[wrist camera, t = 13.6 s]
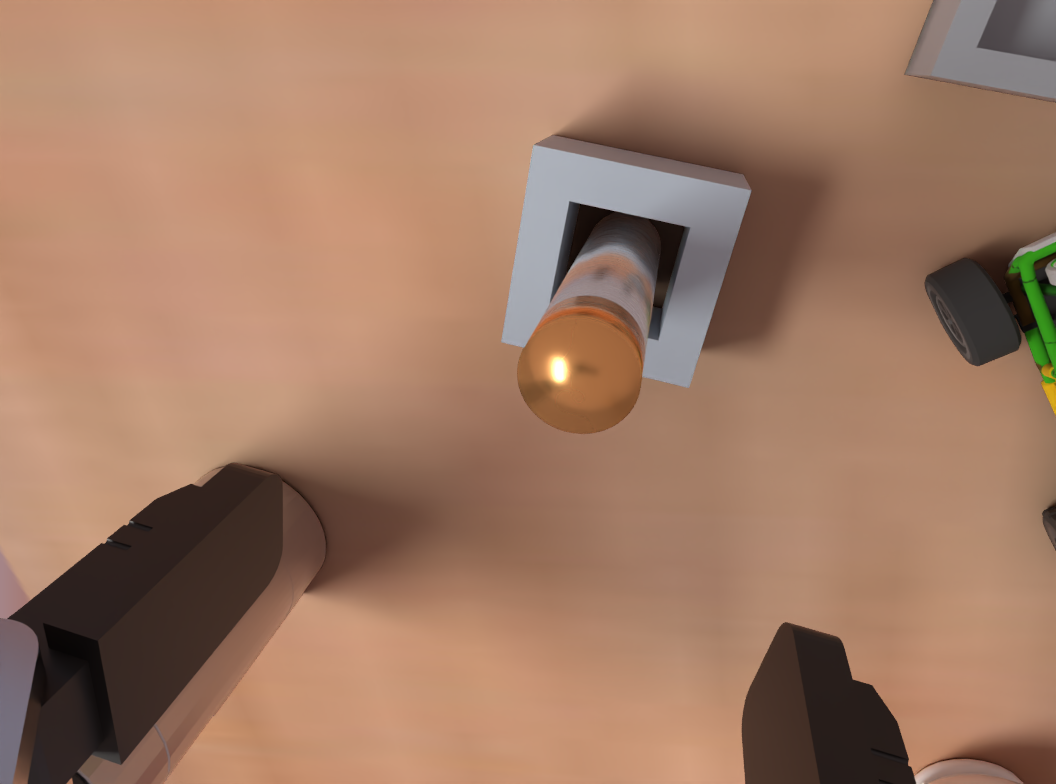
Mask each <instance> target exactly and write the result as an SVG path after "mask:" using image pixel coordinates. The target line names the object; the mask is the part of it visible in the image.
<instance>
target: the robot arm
mask: <svg viewBox="0 0 1056 784" xmlns="http://www.w3.org/2000/svg"><path fill="white" fill-rule="evenodd" d="M325 556H326V541H325V536H324V531H323V529H322V526H321V524H320V522H319V519H318V517H317V516H316V514H315V513H314V511H313V510H312V508H311V507H310V505H309V504H308V503H307V502H306V501H305V500H304V499H303V498H302V497H301V495H300V494H299V493H298V492H296V491H295V490H294V489H292V488H291V487H290V486H289V485H287V484H286V483H285V482H283V481H282V480H281V477H280V476H279V475H277V474H273V473H270V472H266V471H263V470H259V469H256V468H252V467H249V466H245V465H242V464H238V463H230V464H228V465H226V466H225V467H222V468H218V469H214V470H212V471H211V472H209V473H207V474H205V475H204V476H202V477H201V478H200V479H199V480H198V481H197V482H195V483H194V484H190V485H187V486H185V487H183V488H180V489H178V490H176V491H173V492H171V493H169V494H167V495H164V496H162V497H160V498H157V499H156V500H154V501H153V502H152V503H151V504H149V505H148V506H147V507H146V508H144V509H143V510H142V511H141V512H139V513H138V514H137V515H136V516H135V517H133V518H132V519H131V520H130V521H129V524H128V525H127V526H126V525H123V526H122V527H121V528H120V529H118V530H117V531H116V532H115V533H113V534H112V535H111V536H110V537H108V538H107V542H106V543H105V544H102V543H101V544H100V545H99V546H97V547H96V548H95V549H94V550H92V551H91V552H90V553H89V554H87V555H86V556H85V557H84V558H82V559H81V560H80V561H79V562H77V563H76V564H75V565H74V566H73V567H71V568H70V569H69V570H68V571H66V572H65V573H64V574H63V575H61V576H60V577H59V578H58V579H56V580H55V581H54V582H53V583H51V584H50V585H49V586H48V587H47V588H45V589H44V590H43V591H42V592H40V593H39V594H38V595H37V596H35V597H34V598H33V599H32V600H30V601H29V602H28V603H27V604H25V605H24V606H23V607H22V608H21V609H19V610H18V611H17V612H15V613H14V614H13V615H11V616H10V617H9V618H8V619H3V618H0V784H164V782H165V781H166V780H167V778H168V777H169V775H170V774H171V773H172V771H173V770H174V769H175V767H176V766H177V764H178V763H179V762H180V760H181V759H182V758H183V756H184V755H185V753H186V752H187V751H188V749H189V748H190V747H191V745H192V744H193V743H194V741H195V740H196V738H197V737H198V736H199V734H200V733H201V732H202V730H203V729H204V727H205V726H206V725H207V723H208V722H209V721H210V719H211V718H212V717H213V716H214V715H215V714H216V713H217V712H218V711H219V709H220V708H221V706H222V705H223V704H224V702H225V701H226V700H227V698H228V697H229V695H230V694H231V693H232V691H233V690H234V689H235V687H236V686H237V684H238V683H239V682H240V680H241V679H242V678H243V676H244V675H245V673H246V672H247V671H248V669H249V668H250V667H251V665H252V664H253V662H254V661H255V660H256V658H257V657H258V656H259V654H260V653H261V651H262V650H263V649H264V647H265V646H266V645H267V643H268V642H269V640H270V639H271V638H272V636H273V635H274V634H275V632H276V631H277V629H278V628H279V627H280V625H281V624H282V623H283V621H284V620H285V618H286V617H287V616H288V614H289V613H290V612H291V610H292V609H293V607H294V606H295V605H296V603H297V602H298V601H299V599H300V598H301V597H302V595H303V592H304V591H305V589H306V588H307V587H308V585H309V584H310V582H311V581H312V580H313V578H314V577H315V575H316V574H317V573H318V571H319V570H320V568H321V567H322V565H323V562H324V559H325ZM742 743H743V757H744V770H745V784H916V781H915V777H914V774H913V771H912V768H911V767H910V766H908V760H909V758H908V755H907V752H906V749H905V745H904V742H903V739H902V736H901V733H900V729H899V726H898V723H897V721H896V719H895V718H894V716H893V715H892V714H891V712H890V711H889V709H888V708H887V706H886V705H885V703H884V702H883V700H882V699H881V698H880V696H879V695H878V693H877V692H876V690H875V689H874V687H873V686H872V685H869V684H866V683H863V682H859V681H856V680H853V679H852V676H851V672H850V668H849V664H848V660H847V656H846V653H845V649H844V646H843V643H842V641H841V640H840V639H839V638H838V637H837V636H833V635H830V634H826V633H823V632H819V631H816V630H812V629H809V628H805V627H802V626H798V625H795V624H791V623H788V622H785V623H783V624H782V625H781V626H780V627H779V629H778V631H777V633H776V635H775V637H774V639H773V641H772V643H771V645H770V647H769V649H768V651H767V653H766V655H765V657H764V659H763V661H762V664H761V666H760V668H759V670H758V672H757V674H756V676H755V678H754V680H753V682H752V684H751V686H750V688H749V691H748V694H747V697H746V700H745V705H744V710H743V717H742Z"/></svg>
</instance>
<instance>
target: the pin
mask: <svg viewBox="0 0 1056 784" xmlns="http://www.w3.org/2000/svg"><path fill="white" fill-rule="evenodd" d="M660 253H661V241H660V237H659V234H658V232H657V230H656V228H655V227H654V225H653V224H652V223H651V222H650V221H649V220H648V219H647V218H645V217H640V216H636V215H631V214H626V213H622V212H616V213H612V214H610V215H608V216H606V217H604V218H603V219H602V220H600V221H599V222H598V223H597V225H596V226H595V227H594V229H593V230H592V232H591V234H590V235H589V237H588V239H587V241H586V242H585V244H584V246H583V248H582V249H581V251H580V253H579V254H578V256H577V258H576V260H575V261H574V263H573V265H572V266H571V268H570V270H569V272H568V273H567V275H566V277H565V278H564V280H563V282H562V284H561V285H560V287H559V289H558V290H557V292H556V294H555V296H554V297H553V299H552V301H551V303H550V304H549V306H548V308H547V309H546V311H545V313H544V315H543V316H542V318H541V320H540V321H539V323H538V325H537V327H536V328H535V330H534V332H533V333H532V335H531V337H530V339H529V340H528V342H527V344H526V345H525V347H524V349H523V351H522V353H521V356H520V358H519V362H518V369H517V377H518V384H519V388H520V391H521V394H522V396H523V398H524V400H525V402H526V403H527V405H528V406H529V408H530V409H531V410H532V411H533V412H534V413H535V414H536V415H537V416H538V417H539V418H540V419H541V420H543V421H544V422H546V423H547V424H549V425H551V426H553V427H555V428H557V429H560V430H563V431H566V432H571V433H579V434H588V433H595V432H600V431H603V430H606V429H608V428H611V427H613V426H614V425H616V424H618V423H619V422H620V421H622V420H623V419H624V418H625V417H626V416H627V415H628V414H629V413H630V411H631V410H632V409H633V407H634V405H635V403H636V401H637V399H638V396H639V393H640V388H641V381H642V374H643V368H644V361H645V354H646V347H647V341H648V334H649V327H650V320H651V314H652V307H653V300H654V294H655V287H656V280H657V273H658V267H659V260H660Z"/></svg>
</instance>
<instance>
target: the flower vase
mask: <svg viewBox="0 0 1056 784" xmlns="http://www.w3.org/2000/svg"><path fill="white" fill-rule="evenodd" d="M914 777H915V781H916V784H1024V783H1023V782H1022V781H1021V780H1020V779H1019V778H1018V777H1016V776H1015V775H1014V774H1013V773H1012V772H1011V771H1009V770H1007V769H1005V768H1003V767H1001V766H999V765H996V764H993V763H989V762H986V761H982V760H974V759H951V760H946V761H941V762H937V763H935V764H932V765H930V766H927V767H925V768H924V769H923V770H921V771H920V772H918V773H917V774H916V775H915V776H914Z"/></svg>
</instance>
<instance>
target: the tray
mask: <svg viewBox="0 0 1056 784" xmlns="http://www.w3.org/2000/svg"><path fill="white" fill-rule="evenodd" d="M904 75H909V76H915V77H920V78H926V79H931V80H936V81H942V82H947V83H953V84H958V85H964V86H969V87H974V88H980V89H985V90H991V91H996V92H1001V93H1007V94H1012V95H1018V96H1023V97H1028V98H1034V99H1039V100H1045V101H1050V102H1055V103H1056V0H933V3H932V5H931V8H930V10H929V13H928V15H927V18H926V21H925V23H924V26H923V28H922V31H921V33H920V36H919V38H918V41H917V44H916V46H915V49H914V51H913V54H912V56H911V59H910V61H909V64H908V67H907V69H906V72H905V74H904Z"/></svg>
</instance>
